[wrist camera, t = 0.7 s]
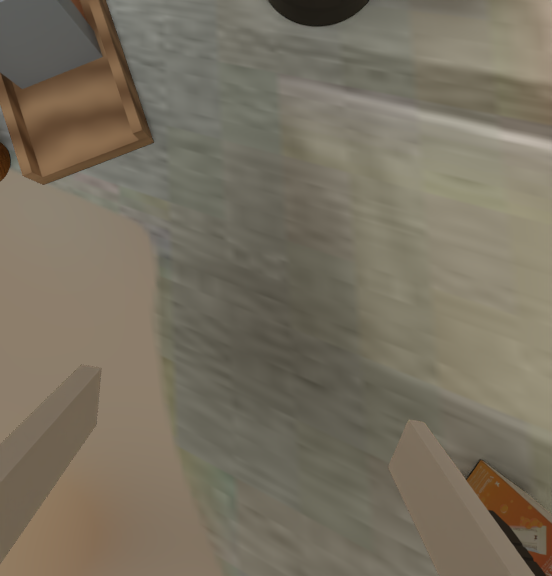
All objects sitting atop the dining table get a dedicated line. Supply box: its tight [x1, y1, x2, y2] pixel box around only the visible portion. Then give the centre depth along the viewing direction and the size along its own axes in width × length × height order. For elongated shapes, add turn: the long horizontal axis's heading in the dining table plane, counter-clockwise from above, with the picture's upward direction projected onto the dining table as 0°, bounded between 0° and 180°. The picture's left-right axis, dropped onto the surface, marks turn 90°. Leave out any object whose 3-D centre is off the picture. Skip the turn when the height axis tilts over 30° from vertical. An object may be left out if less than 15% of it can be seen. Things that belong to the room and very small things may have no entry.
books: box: [0, 0, 103, 89], centre depth 34 cm, size 8×11×9 cm
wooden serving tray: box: [0, 0, 154, 185], centre depth 39 cm, size 22×15×3 cm
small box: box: [466, 460, 552, 576], centre depth 29 cm, size 8×6×13 cm
